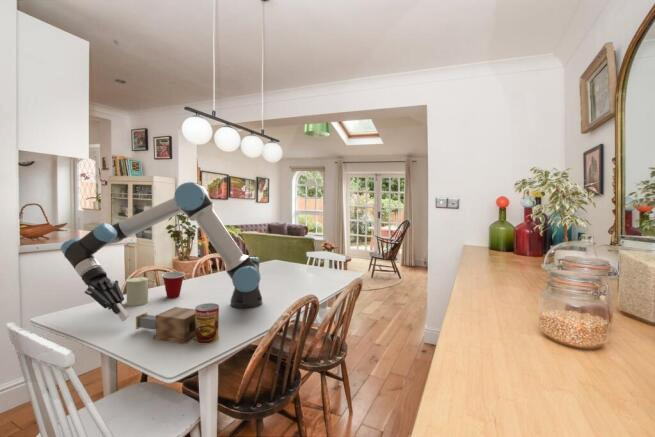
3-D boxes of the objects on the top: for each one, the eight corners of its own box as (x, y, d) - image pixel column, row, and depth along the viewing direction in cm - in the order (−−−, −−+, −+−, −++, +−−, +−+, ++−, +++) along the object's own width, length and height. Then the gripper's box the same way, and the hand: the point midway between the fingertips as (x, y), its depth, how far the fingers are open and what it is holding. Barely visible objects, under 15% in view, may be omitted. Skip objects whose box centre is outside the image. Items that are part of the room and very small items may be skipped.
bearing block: (153, 339, 113) (153, 315, 113) (174, 327, 124) (175, 306, 123) (184, 343, 110) (184, 319, 110) (204, 331, 121) (204, 309, 120)
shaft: (135, 329, 118) (135, 316, 118) (146, 324, 123) (146, 312, 123) (183, 335, 114) (183, 322, 113) (192, 330, 118) (192, 318, 118)
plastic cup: (160, 300, 157) (160, 276, 157) (162, 294, 167) (162, 272, 167) (184, 298, 162) (184, 275, 161) (184, 293, 171) (185, 271, 171)
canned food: (192, 344, 109) (193, 310, 109) (197, 335, 117) (197, 303, 117) (216, 343, 111) (217, 309, 111) (219, 334, 119) (220, 302, 118)
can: (138, 306, 147) (138, 281, 147) (121, 305, 149) (121, 279, 148) (152, 301, 156) (152, 277, 156) (136, 299, 158) (136, 275, 158)
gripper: (101, 275, 132) (134, 318, 129) (69, 282, 120) (104, 330, 116) (111, 263, 131) (145, 307, 128) (80, 269, 118) (116, 318, 115)
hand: (125, 318), depth 122 cm, fingers closed
